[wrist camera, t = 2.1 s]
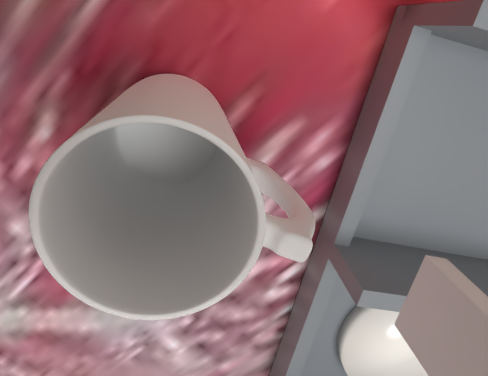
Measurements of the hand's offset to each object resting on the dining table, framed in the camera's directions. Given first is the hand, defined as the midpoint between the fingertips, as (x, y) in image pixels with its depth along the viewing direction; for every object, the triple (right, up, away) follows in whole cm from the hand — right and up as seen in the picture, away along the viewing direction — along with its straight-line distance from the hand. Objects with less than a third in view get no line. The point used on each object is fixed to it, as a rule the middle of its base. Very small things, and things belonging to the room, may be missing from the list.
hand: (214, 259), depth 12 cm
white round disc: (+12, -9, +18) cm, 23 cm away
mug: (-2, +5, +12) cm, 13 cm away
